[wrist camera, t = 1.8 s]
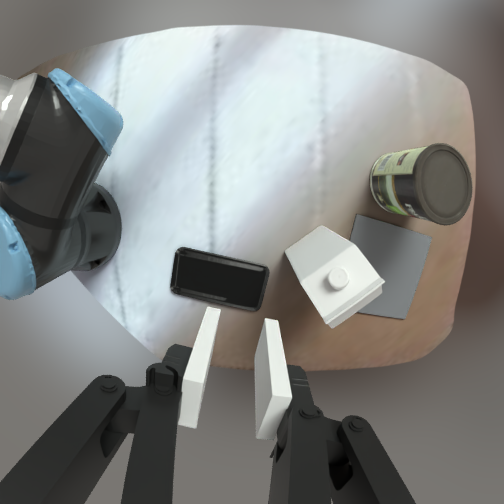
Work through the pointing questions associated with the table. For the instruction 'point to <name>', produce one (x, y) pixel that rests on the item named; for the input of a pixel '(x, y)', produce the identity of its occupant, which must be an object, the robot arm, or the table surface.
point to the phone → (219, 279)
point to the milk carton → (334, 274)
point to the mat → (391, 263)
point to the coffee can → (423, 183)
